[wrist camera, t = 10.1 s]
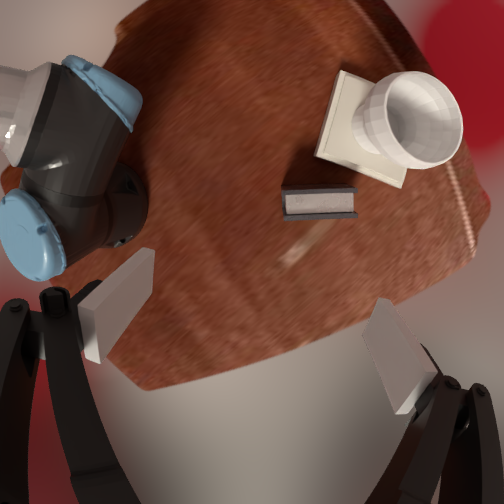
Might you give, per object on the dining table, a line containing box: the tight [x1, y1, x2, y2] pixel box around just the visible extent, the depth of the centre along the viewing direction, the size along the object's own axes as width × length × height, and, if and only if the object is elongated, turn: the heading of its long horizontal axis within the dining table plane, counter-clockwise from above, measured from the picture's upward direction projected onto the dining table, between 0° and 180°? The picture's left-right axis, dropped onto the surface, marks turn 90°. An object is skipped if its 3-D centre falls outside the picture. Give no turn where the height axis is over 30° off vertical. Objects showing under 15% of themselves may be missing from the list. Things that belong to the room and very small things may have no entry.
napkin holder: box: [281, 183, 358, 221], centre depth 40 cm, size 10×4×7 cm, turn 95°
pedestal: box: [313, 70, 407, 188], centre depth 37 cm, size 14×14×4 cm
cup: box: [351, 71, 463, 169], centre depth 28 cm, size 11×11×15 cm
